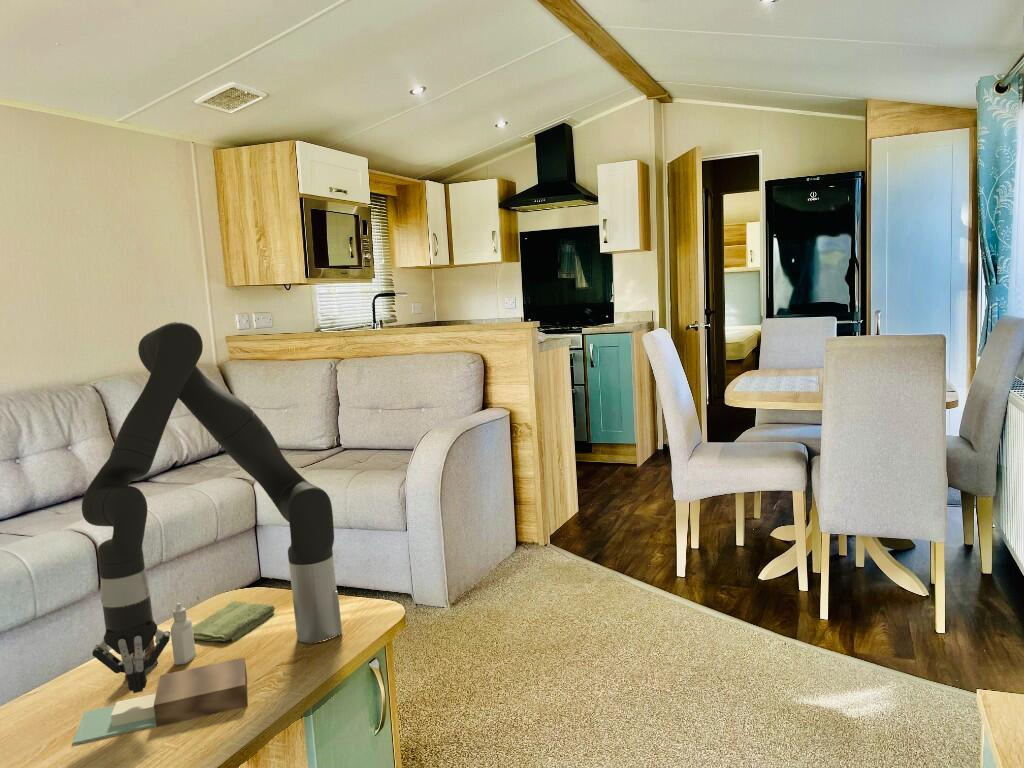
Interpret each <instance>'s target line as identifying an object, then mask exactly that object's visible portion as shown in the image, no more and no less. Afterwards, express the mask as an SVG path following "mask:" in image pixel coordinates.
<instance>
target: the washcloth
mask: <svg viewBox="0 0 1024 768" xmlns="http://www.w3.org/2000/svg"><path fill="white" fill-rule="evenodd" d="M275 610H276V608H275V606H274V605H273V604H264V603H247V602H246V601H239V600H238V601H237V600H233V601H230V602H229V603H227V604H226V605H225V606H224V607H222V608H221V609H218V610H216V611H215V612H214V613H213V614H210V615H209V616H208V617H207V618H205V619H203V620H201V621H199V622H197V623H196V624H194V625H192V627H193V635H194V640H195V639H196V640H197V641H205V642H206V641H207V642H209V641H210V642H212V641H213V642H216V641H221V642H229V643H235V642H236V641H238V639H240V638H242V637H243V636H244V635H246V634H247V633H249V632H250V631H252V630H254V628H255V626H256V627H257V626H259V625H260V624H262V623H264V621H266V620H267V619H268V617H269V616H270V617H272V616H273V614H274V612H275ZM270 617H269V618H270ZM261 622H262V623H261ZM258 624H259V625H258ZM248 631H249V632H248ZM196 640H195V641H196Z"/></svg>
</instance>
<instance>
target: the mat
mask: <svg viewBox="0 0 1024 768" xmlns="http://www.w3.org/2000/svg"><path fill="white" fill-rule="evenodd" d="M114 706H115V705H114V704H113V705H109V706H104V707H100V708H96V709H91V710H87V711H84V712H83V715H82V717H81V721H80V722H79V725H78V727H77V730H76V733H75V734H74V736H73V740H72V743H71V745H72V746H75V745H79V744H83V743H88V742H93V741H96V740H101V739H104V738H105V739H106V738H109V737H114V736H118V735H119V736H120V735H122V734H126V733H131V732H132V733H133V732H136V731H140V730H144V729H148V728H153V727H156V719H155V717H154V718H149V719H145V720H140V721H135V722H131V723H126V724H121V725H117V726H112V720H111V714H112V711H113V709H114Z"/></svg>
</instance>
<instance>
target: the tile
mask: <svg viewBox="0 0 1024 768" xmlns="http://www.w3.org/2000/svg"><path fill="white" fill-rule="evenodd" d="M155 697H156V693H153V694H148V695H143V696H140V697H139V696H138V697H133V698H129V699H124V700H120V701H115V706H114V709H113V711H112V714H111V720H112V726H117V725H121V724H126V723H131V722H135V721H140V720H145V719H149V718H154V717H155V711H154V701H155Z"/></svg>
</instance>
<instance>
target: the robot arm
mask: <svg viewBox="0 0 1024 768" xmlns="http://www.w3.org/2000/svg"><path fill="white" fill-rule="evenodd" d="M203 345H204V344H203V339H202V337H201V334H200V332H199V331H198V330H197V329H196V328H195V327H194V326H192V324H189V323H187V322H183V321H173V322H169V323H166V324H164V325H162V326H160V327H158V328H155V329H154V330H152V331H150V332H149V333H146V334H145V335H144V336H143V337H142V338H141V339H140V341H139V344H138V348H137V349H138V350H137V352H138V356H139V359H140V361H141V363H142V364H143V366H144V368H145V369H146V370H147V372H149V373H150V375H149V377H148V380H147V382H146V384H145V386H144V388H143V390H142V392H141V393H140V395H139V397H138V398H137V400H136V401H135V403H134V404H133V406H132V407H131V409H130V410H129V412H128V413H127V415H126V417H125V419H124V421H123V422H122V425H121V426H120V428H119V431H118V433H117V436H116V439H115V441H114V443H113V446H112V448H111V451H110V455H109V457H108V459H107V461H105V463H104V464H103V466H101V468H100V469H99V471H98V472H97V474H96V475H95V477H94V478H93V479H92V481H91V483H90V484H89V485H88V487H87V488H86V490H85V493H84V495H83V497H82V501H81V513H82V516H83V518H84V520H85V521H86V522H87V523H89V524H90V525H92V526H95V527H96V526H97V527H111V528H113V530H112V531H113V532H112V538H110V539H107V540H104V541H103V542H101V544H100V545H99V546H98V549H97V561H98V569H99V576H100V600H101V603H102V604H101V605H102V612H103V617H104V618H103V619H104V626H105V633H104V635H103V640H102V641H101V642H100V643H99V644H96V645H95V646H94V647H93V650H92V656H93V657H94V658H95V659H97V660H98V661H99V662H100V663H102V664H103V665H105V666H106V667H107V668H108V669H109V670H111V671H112V672H113V673H115V674H120V673H123V674H126V675H127V681H128V682H127V688H128V690H129V691H130V692H131V691H132V693H133V694H137V693H143V691H144V689H145V688H146V687H147V682H148V680H147V674H146V671H145V669H146V668H147V667H150V666H153V665H154V663H155V662H156V660H158V659H159V657H160V655H161V654H162V652H163V651H164V650H165V648H166V646H167V645H168V643H169V641H170V638H171V631H169V630H168V631H167V630H165V631H163V630H161V629H158V625H157V623H156V622H155V621H154V615H153V609H152V601H151V593H150V592H151V591H150V586H149V585H150V583H149V578H148V575H147V571H146V568H145V559H144V552H143V543H144V537H145V530H146V524H147V519H148V518H147V517H148V503H147V499H146V497H145V494H143V492H142V491H141V490H140V488H137V487H135V486H132V485H130V484H131V482H133V481H134V480H136V479H139V478H142V477H145V476H146V475H148V473H149V472H150V470H151V468H152V465H153V463H154V460H155V458H156V454H157V453H158V452H157V451H158V450H159V449H158V448H159V446H160V444H161V440H162V438H163V435H164V432H165V430H166V426H167V424H168V421H169V419H170V416H171V415H172V413H173V410H174V408H175V406H176V403H177V401H178V400H179V401H180V402H181V403H182V404H184V406H185V407H186V408H187V409H188V410H189V411H190V413H191V414H192V415H193V417H195V418H196V419H197V422H199V423H200V424H201V425H202V426H203V427H204V429H206V430H207V432H208V433H209V434H210V435H211V437H212V438H213V439H214V440H215V441H216V443H218V445H219V446H220V447H221V448H222V449H223V450H224V451H225V453H226V454H227V455H228V456H229V457H230V458H231V459H232V460H233V461H234V462H235V463H236V464H237V465H238V466H239V467H240V468H241V469H242V470H244V471H245V472H246V473H247V474H248V475H249V476H251V477H252V479H254V480H255V482H257V483H258V484H259V485H260V486H261V487H262V489H263V490H264V492H265V493H266V494H267V496H268V497H269V499H271V501H272V503H273V504H274V506H275V507H276V509H277V510H278V512H279V513H280V515H281V516H282V518H284V519H285V521H287V522H288V523H289V530H290V531H289V532H290V534H289V535H290V545H289V547H288V549H287V557H288V567H289V568H288V569H289V575H290V577H289V578H290V586H291V594H292V603H293V612H294V623H295V632H296V638H297V639H296V640H297V641H299V642H300V643H302V642H305V643H304V644H313V643H312V642H319V641H323V640H326V639H329V638H332V637H334V636H336V635H339V634H342V635H343V626H342V620H341V619H342V618H341V610H340V609H341V608H340V600H339V593H338V592H339V591H338V589H337V582H336V580H337V579H336V573H335V572H336V571H335V563H334V554H333V553H334V551H333V547H334V544H335V529H334V514H333V506H332V500H331V498H330V496H329V495H328V492H326V491H325V490H324V489H323V488H320V487H319V486H316V485H314V484H312V483H310V482H309V481H308V480H306V479H305V478H304V477H303V476H302V475H301V474H300V473H299V472H298V471H297V470H296V469H295V468H294V467H293V466H292V465H291V464H290V463H289V462H288V460H287V459H286V458H285V456H284V454H283V453H282V451H281V448H280V447H279V445H278V444H277V442H276V440H275V438H274V436H273V435H272V433H271V431H270V430H269V429H268V427H267V426H266V424H265V423H264V422H263V420H261V418H260V417H259V416H258V415H257V414H256V412H255V411H254V410H253V409H252V408H251V407H250V406H249V405H248V404H247V403H245V402H244V401H243V400H241V399H240V398H238V397H237V396H235V395H234V394H232V393H230V392H229V391H227V390H225V389H223V388H221V387H220V386H218V385H217V384H215V383H214V382H213V381H211V380H210V379H209V378H207V376H206V375H205V374H204V373H203V372H202V371H201V369H199V367H198V366H197V365H198V363H199V360H200V358H201V356H202V354H203V347H204V346H203ZM339 636H340V635H339ZM153 637H155V639H154V644H155V647H154V649H153V650H152V652H151V653H150V655H149V657H147V658H145V649H146V648H147V647H148V645H149V644H150V642H151V640H152V639H153ZM336 637H337V636H336ZM334 638H335V637H334ZM110 649H112V650H113V651H114V652H115V653H116V654H118V655H120V656H121V659H119V658H118V657H117V656H116V655H115V654H113V653H112V652H111V651H110ZM133 653H135V660H136V669H135V664H134V660H133Z"/></svg>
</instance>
